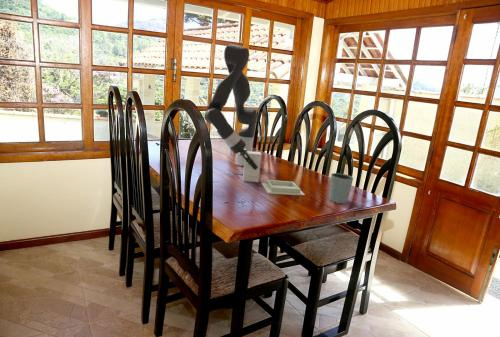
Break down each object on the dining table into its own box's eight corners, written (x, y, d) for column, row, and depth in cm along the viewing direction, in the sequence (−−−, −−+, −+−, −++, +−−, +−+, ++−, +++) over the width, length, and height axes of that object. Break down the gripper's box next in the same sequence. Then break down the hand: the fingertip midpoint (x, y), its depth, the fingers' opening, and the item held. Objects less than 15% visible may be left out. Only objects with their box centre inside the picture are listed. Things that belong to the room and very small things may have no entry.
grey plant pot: (338, 205, 158) (343, 179, 155) (322, 197, 166) (326, 173, 163) (352, 202, 164) (357, 178, 161) (336, 195, 172) (340, 172, 169)
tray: (261, 184, 176) (262, 179, 175) (295, 186, 179) (296, 181, 179) (267, 193, 163) (268, 188, 162) (304, 195, 166) (305, 190, 165)
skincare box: (257, 179, 183) (261, 151, 179) (258, 183, 177) (262, 154, 173) (241, 177, 182) (245, 150, 179) (241, 181, 176) (245, 152, 173)
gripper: (242, 139, 166) (263, 165, 171) (238, 134, 179) (258, 158, 185) (230, 150, 166) (251, 175, 171) (227, 143, 180) (247, 167, 185)
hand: (255, 166), depth 178 cm, fingers closed on skincare box, 6 cm apart
